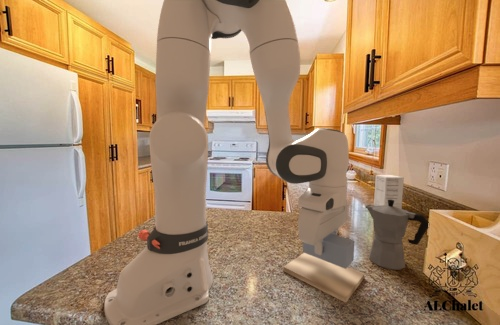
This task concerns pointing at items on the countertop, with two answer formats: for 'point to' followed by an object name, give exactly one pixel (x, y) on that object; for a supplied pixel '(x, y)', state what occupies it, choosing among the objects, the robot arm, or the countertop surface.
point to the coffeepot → (392, 234)
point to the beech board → (325, 276)
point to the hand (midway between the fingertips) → (325, 248)
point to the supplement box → (388, 190)
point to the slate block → (334, 250)
